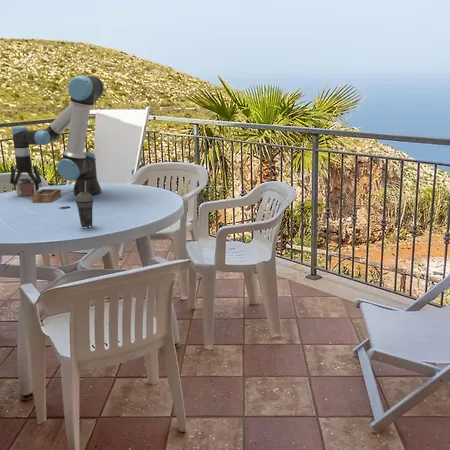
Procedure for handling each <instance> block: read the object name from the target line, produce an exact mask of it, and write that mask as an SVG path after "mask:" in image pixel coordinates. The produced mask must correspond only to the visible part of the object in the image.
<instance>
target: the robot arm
mask: <svg viewBox="0 0 450 450" xmlns="http://www.w3.org/2000/svg"><path fill="white" fill-rule="evenodd" d="M104 89H105V87H104V84H103V81H102V80H101V79H100V77H98V76H95V75H77V76H74V77H73V78H71V79H70V81H69V82H68V86H67V92H68V94H69V96H70V103H69V104H68V105H67V106H66V108H65V109H63V111H62V112H61V113H59V115H58V116H57V117H55V119H54V120H53V121H52V122H51V123H50V124H49V125H48V126H47V127H46V128H42V129H36V130H34V129H33V130H29V129H28V127H27V126H25V125H21V126H19V125H18V126H13V127H12V129H11V131H12V139H13V140H12V141H13V149H14V155H15V156H14V157H15V163H16V164H15V165H14V164H13V165H11V166H10V170H11V172H10V179H9V180H10V181H9V184H12V185H13V188H14V191H16V197H21V196H20V195H21V193H20V186H19V182H20V179H21V178H20V177H21V176H22V174H23V173H25V174H26V173H27V175H28V176H29V177H30V179H31V181H32V183H34V184H33V186H34V193H36V192H38V191H40V190H39V189H40V187H39V186H40V185H39V184H41V183H43V181H42V179H41V176H40V174H39V170H38V165H37V164H36V165H32V160H31V155H30V154H31V152H30V146H31V145H33V146H35V145H36V146H47V145H49V143H52V142H53V143H55V142H58V141H59V140H60V139H61V136H62V134H63V133H64V132H65V131H66V130H67V129H68V128H69V129H68V130H69V131H68V137H67V145H66V149H65V150H64V151H63V152H62V157H61V158H62V159H60V160H59V161H58V163H57V166H56V167H57V168H56V169H57V172H58V174H59V175H60V177H61V178H62V179H64V180H67V181H74V185H73V189H72V190H73V195H74V196H77V195H78V194H79V193H80V192H83V191H85V181H86V192H88V193H90V194H91V195H92V196H95V195H98V194H101V193H102V188H101V185H100V183H99V180H98V176H97V173H98V172H97V163H96V155H95V153H94V152H84V151H85V143H86V138H87V132H88V124H89V120H90V112H91V108H92V107H93V106H94V105H95V103H96V102H97V101H98V100H100V98H101V97H102V96H103V93H104ZM16 169H17V174H16ZM32 170H33V171H32ZM15 175H16V176H15Z"/></svg>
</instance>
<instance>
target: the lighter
mask: <svg viewBox="0 0 450 450" xmlns="http://www.w3.org/2000/svg"><path fill="white" fill-rule="evenodd" d="M18 184H19V188H20V196H19V197H20V198H32V194H34V184H35V183H34V182H32V179H31V178H19V182H18Z"/></svg>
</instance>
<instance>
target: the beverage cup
mask: <svg viewBox="0 0 450 450" xmlns="http://www.w3.org/2000/svg"><path fill="white" fill-rule="evenodd" d="M75 203H76V206H77V210H78V211H77V212H78V216H79V222H80V226H81V228H82V227H89V226H92V227H93V205H94V199H93V195H91V194H90V193H88V192H86V181H85V191H83V192H80V193H79V194H78V195H76V198H75Z"/></svg>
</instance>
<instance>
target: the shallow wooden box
mask: <svg viewBox="0 0 450 450" xmlns="http://www.w3.org/2000/svg"><path fill="white" fill-rule="evenodd" d="M61 197H62V193H61V189H60V188H59V189H58V188H57V189H56V188H48V189H47V188H43V189H40V190H38V192H36V193H34V194H32V197H31V199H32V200H31V201H32V203H40V204H41V203H42V204H43V203H45V204H46V203H53V202H55V201H57V200H58V199H59V198H61Z"/></svg>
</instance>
